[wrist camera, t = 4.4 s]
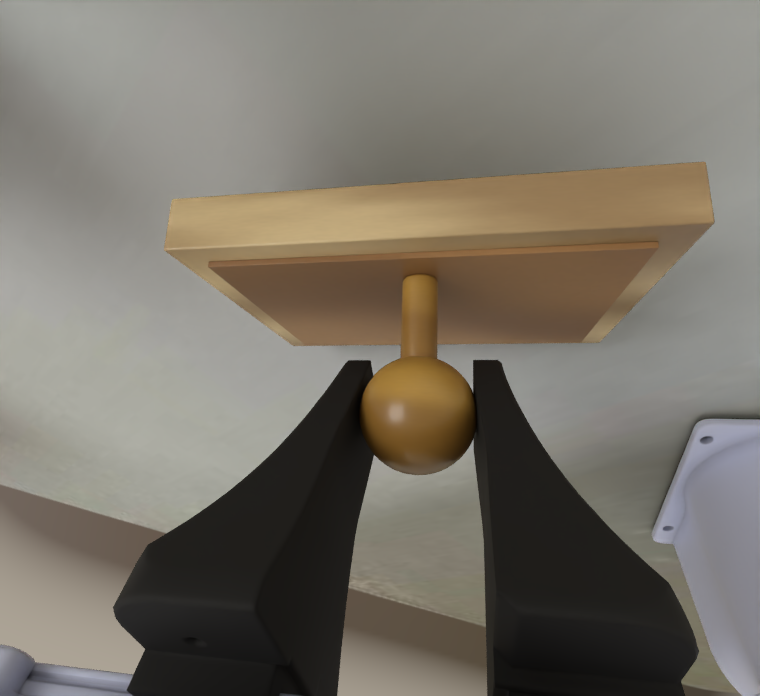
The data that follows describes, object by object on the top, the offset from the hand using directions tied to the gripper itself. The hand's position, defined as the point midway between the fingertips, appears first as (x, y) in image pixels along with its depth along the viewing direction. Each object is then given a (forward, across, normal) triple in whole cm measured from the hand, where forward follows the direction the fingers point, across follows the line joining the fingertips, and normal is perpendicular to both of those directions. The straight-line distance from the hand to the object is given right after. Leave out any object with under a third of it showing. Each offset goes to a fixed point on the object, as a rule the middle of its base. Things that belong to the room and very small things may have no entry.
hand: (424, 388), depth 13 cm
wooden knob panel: (+4, 0, -2) cm, 4 cm away
